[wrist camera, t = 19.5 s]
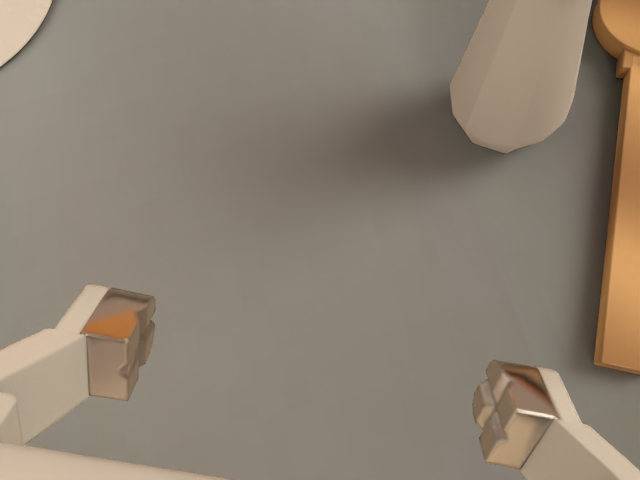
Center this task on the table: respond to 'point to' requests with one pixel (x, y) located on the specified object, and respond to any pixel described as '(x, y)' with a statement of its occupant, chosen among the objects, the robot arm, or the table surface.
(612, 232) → the wooden spoon
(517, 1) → the salt shaker
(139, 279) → the table surface
